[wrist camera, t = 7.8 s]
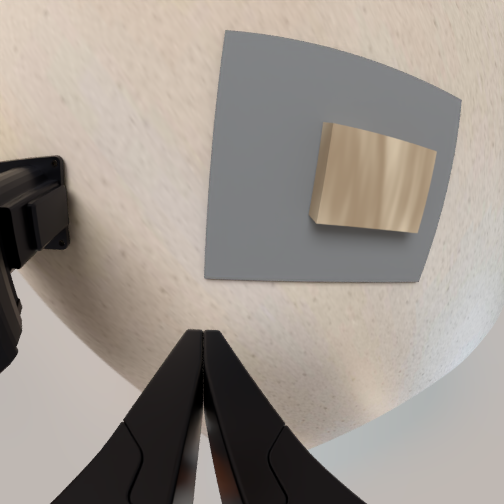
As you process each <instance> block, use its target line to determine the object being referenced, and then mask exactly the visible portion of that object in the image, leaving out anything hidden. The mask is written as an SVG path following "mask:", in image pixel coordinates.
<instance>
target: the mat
mask: <svg viewBox="0 0 504 504" xmlns="http://www.w3.org/2000/svg"><path fill="white" fill-rule="evenodd" d="M461 101H462V100H461V99H459V98H457V97H455V96H453V95H451V94H450V93H448V92H446V91H444V90H442V89H440V88H438V87H436V86H434V85H431V84H429V83H427V82H425V81H423V80H421V79H418V78H416V77H414V76H411V75H409V74H407V73H404V72H402V71H399V70H397V69H394V68H392V67H389V66H386V65H384V64H381V63H378V62H375V61H372V60H370V59H367V58H363V57H360V56H357V55H354V54H351V53H347V52H344V51H340V50H337V49H333V48H329V47H325V46H321V45H317V44H313V43H308V42H304V41H299V40H294V39H289V38H283V37H278V36H271V35H265V34H257V33H249V32H240V31H229V30H225V37H224V44H223V52H222V59H221V67H220V75H219V84H218V93H217V102H216V111H215V121H214V132H213V142H212V154H211V166H210V179H209V194H208V209H207V226H206V246H205V270H204V278H206V279H232V280H263V281H308V282H419V279H420V277H421V274H422V271H423V268H424V266H425V263H426V260H427V257H428V254H429V251H430V248H431V245H432V242H433V239H434V236H435V232H436V229H437V226H438V222H439V219H440V215H441V211H442V208H443V204H444V200H445V196H446V192H447V187H448V183H449V179H450V174H451V169H452V164H453V159H454V153H455V148H456V141H457V135H458V128H459V120H460V111H461ZM323 122H327V123H335V124H340V125H345V126H349V127H353V128H358V129H362V130H366V131H370V132H374V133H378V134H382V135H385V136H389V137H392V138H396V139H399V140H403V141H406V142H409V143H413V144H416V145H419V146H422V147H425V148H428V149H431V150H434V151H437V153H436V159H435V164H434V169H433V174H432V179H431V183H430V188H429V192H428V196H427V200H426V204H425V208H424V212H423V216H422V219H421V223H420V226H419V230H418V233H410V232H401V231H391V230H382V229H372V228H361V227H350V226H339V225H328V224H316V223H315V221H314V220H313V219H312V218H311V217H310V216H309V210H310V204H311V198H312V192H313V186H314V180H315V174H316V168H317V162H318V155H319V148H320V142H321V135H322V128H323Z"/></svg>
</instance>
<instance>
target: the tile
mask: <svg viewBox="0 0 504 504" xmlns="http://www.w3.org/2000/svg"><path fill="white" fill-rule="evenodd" d="M436 153H437V151H434V150H431V149H428V148H425V147H422V146H419V145H416V144H413V143H409V142H406V141H403V140H399V139H396V138H392V137H389V136H385V135H382V134H378V133H374V132H370V131H366V130H362V129H358V128H353V127H349V126H345V125H340V124H335V123H327V122H323V128H322V135H321V142H320V148H319V155H318V162H317V168H316V174H315V180H314V186H313V192H312V198H311V204H310V210H309V216H310V217H311V218H312V219H313V220H314V221H315V223H316V224H328V225H339V226H350V227H361V228H372V229H382V230H391V231H401V232H410V233H418V230H419V226H420V223H421V219H422V216H423V212H424V208H425V204H426V200H427V196H428V192H429V188H430V183H431V179H432V174H433V169H434V164H435V159H436Z"/></svg>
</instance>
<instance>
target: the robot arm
mask: <svg viewBox="0 0 504 504" xmlns="http://www.w3.org/2000/svg"><path fill="white" fill-rule="evenodd" d="M55 160H56V161H57V166H55V165H54V161H55ZM68 224H69V218H68V208H67V196H66V188H65V186H64V175H63V160H62V158H61V157H60V156H58V155H55V156H44V157H34V158H25V159H16V160H9V161H1V162H0V373H1V372H2V371H3V370H4V369H6V368H7V367H8V366H9V365H10V364H11V362H12V361H13V360H14V358H15V357H16V355H17V353H18V349H17V347H16V346H17V344H18V341H19V338H20V335H21V333H22V319H21V316H20V314H21V310H22V305H21V302H20V299H19V298H18V297H17V294H16V291H15V288H14V284H13V281H12V277H11V273H12V272H13V270H15V269H20V268H21V267H22V266H23V265H24V264H25V263H26V262H27V261H28V260H29V259H30V258H31V257H32V256H33V255H34V254H35V253H36V252H37V251H41V250H42V249H59V250H64V249H66V248H67V247H68V246H69V244H70V240H69V232H68ZM61 240H63V241H64V243H65V244H63V243H62V242H61ZM203 402H204V414H205V420H206V426H207V432H208V438H209V443H210V448H211V454H212V459H213V464H214V469H215V474H216V478H217V483H218V487H219V492H220V496H221V501H222V504H367V503H365V502H364V501H363V500H361V499H360V498H359V497H358V496H357V495H355V494H354V493H353V492H352V491H351V490H349V489H348V488H347V487H346V486H345V485H344V484H342V483H341V482H340V481H339V480H338V479H337V478H336V477H334V476H333V475H332V474H331V473H330V472H329V471H328V470H327V469H325V467H323V466H322V465H321V464H320V463H319V462H318V461H317V460H316V459H315V458H314V457H313V456H312V455H311V454H310V453H309V451H308V450H307V449H306V448H305V447H304V446H303V445H302V443H301V442H300V441H299V440H298V439H297V437H296V436H295V435H294V434H293V432H292V431H291V430H290V428H289V427H288V426H285V422H284V421H283V420H282V418H281V417H280V416H279V414H278V413H277V412H276V410H275V409H274V408H273V406H272V405H271V404H270V402H269V401H268V399H267V398H266V397H265V395H264V394H263V393H262V391H261V390H260V388H259V387H258V386H257V384H256V383H255V382H254V380H253V379H252V377H251V376H250V374H249V373H248V372H247V370H246V369H245V367H244V366H243V364H242V363H241V362H240V360H239V359H238V357H237V356H236V354H235V353H234V351H233V350H232V348H231V347H230V345H229V344H228V342H227V341H226V339H225V338H224V336H223V335H222V333H221V332H220V331H218V330H205V331H204V332H203V331H202V330H196V329H188V330H186V332H185V333H184V334H183V336H182V337H181V339H180V340H179V341H178V343H177V344H176V346H175V347H174V348H173V350H172V351H171V353H170V354H169V355H168V357H167V358H166V360H165V361H164V362H163V364H162V365H161V367H160V368H159V370H158V371H157V372H156V374H155V375H154V377H153V378H152V379H151V381H150V382H149V384H148V385H147V387H146V388H145V389H144V391H143V392H142V394H141V395H140V396H139V398H138V399H137V401H136V402H135V404H134V405H133V406H132V408H131V409H130V411H129V412H128V414H127V415H126V417H125V418H124V419H123V421H124V422H121V423H120V425H119V426H118V428H117V429H116V430H115V432H114V433H113V435H112V436H111V437H110V439H109V440H108V441H107V443H106V444H105V445H104V447H103V448H102V449H101V451H100V452H99V453H98V454H97V455H96V456H95V457H94V458H93V459H92V461H91V462H90V463H89V464H88V465H87V466H86V467H85V468H84V469H83V470H82V472H81V473H80V474H79V475H78V476H77V477H76V478H75V479H74V480H73V481H72V482H71V483H70V484H69V485H68V486H67V487H66V488H65V489H64V490H63V491H62V492H61V494H60V495H59V496H57V497H56V498H55V500H53V501H52V502H51V503H50V504H193V500H194V489H195V479H196V469H197V460H198V451H199V441H200V433H201V425H202V416H203Z"/></svg>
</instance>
